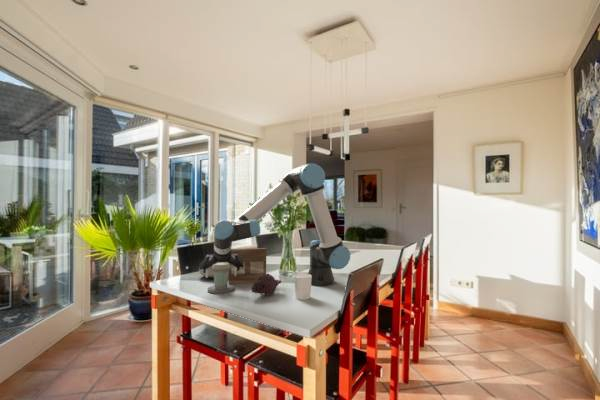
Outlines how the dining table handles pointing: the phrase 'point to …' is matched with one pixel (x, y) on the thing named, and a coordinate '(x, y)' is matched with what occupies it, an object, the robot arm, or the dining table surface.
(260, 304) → the dining table surface
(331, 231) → the robot arm
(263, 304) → the dining table surface
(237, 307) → the dining table surface
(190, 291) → the dining table surface
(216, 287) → the coffee cup
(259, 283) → the pine cone
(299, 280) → the white cup
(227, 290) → the rubber mat
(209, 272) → the beige rounded lump
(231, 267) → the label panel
